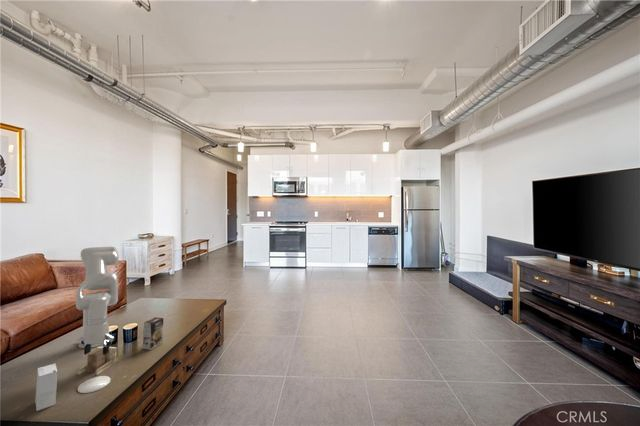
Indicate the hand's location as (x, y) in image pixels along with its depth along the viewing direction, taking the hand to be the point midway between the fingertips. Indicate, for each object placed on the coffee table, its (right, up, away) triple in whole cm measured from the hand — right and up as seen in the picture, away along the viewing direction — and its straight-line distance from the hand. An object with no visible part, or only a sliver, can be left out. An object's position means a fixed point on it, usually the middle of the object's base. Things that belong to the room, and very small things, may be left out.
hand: (96, 353), depth 140 cm
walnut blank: (-1, -9, +1) cm, 9 cm away
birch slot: (-1, -8, +1) cm, 9 cm away
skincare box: (-1, -9, -25) cm, 26 cm away
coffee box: (+13, -9, +26) cm, 31 cm away
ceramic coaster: (+9, -9, -12) cm, 17 cm away
